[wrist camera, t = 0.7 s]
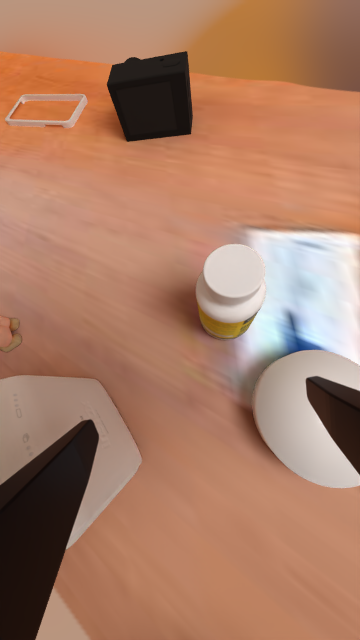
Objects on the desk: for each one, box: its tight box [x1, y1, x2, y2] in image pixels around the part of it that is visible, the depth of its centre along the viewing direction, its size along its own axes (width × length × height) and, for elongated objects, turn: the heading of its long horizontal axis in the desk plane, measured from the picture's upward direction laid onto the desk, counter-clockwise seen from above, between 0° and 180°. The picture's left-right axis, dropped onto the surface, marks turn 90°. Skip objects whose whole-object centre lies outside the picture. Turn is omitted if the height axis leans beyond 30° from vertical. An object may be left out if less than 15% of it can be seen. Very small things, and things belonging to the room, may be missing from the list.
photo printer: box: [0, 375, 142, 550], centre depth 16 cm, size 10×4×12 cm, turn 36°
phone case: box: [5, 94, 88, 128], centre depth 40 cm, size 7×1×15 cm
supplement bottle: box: [196, 244, 266, 340], centre depth 18 cm, size 5×5×10 cm
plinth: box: [252, 350, 360, 488], centre depth 18 cm, size 10×10×2 cm
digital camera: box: [107, 51, 193, 142], centre depth 31 cm, size 10×5×7 cm, turn 85°
